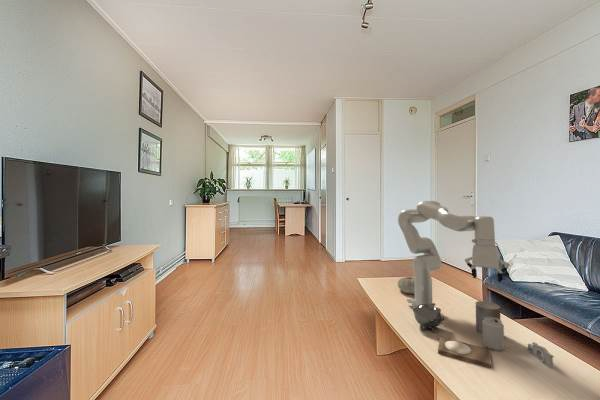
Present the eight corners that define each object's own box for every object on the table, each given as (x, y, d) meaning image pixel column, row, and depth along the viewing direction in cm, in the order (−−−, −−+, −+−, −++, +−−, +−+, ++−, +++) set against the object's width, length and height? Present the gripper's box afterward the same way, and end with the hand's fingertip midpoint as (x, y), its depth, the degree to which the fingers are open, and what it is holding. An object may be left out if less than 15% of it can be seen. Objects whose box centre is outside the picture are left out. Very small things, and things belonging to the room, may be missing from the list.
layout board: (437, 353, 107) (437, 349, 107) (440, 339, 117) (440, 336, 117) (491, 367, 97) (491, 363, 97) (488, 352, 107) (488, 348, 107)
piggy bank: (448, 334, 122) (448, 310, 122) (415, 331, 125) (415, 308, 125) (440, 323, 133) (439, 301, 133) (409, 321, 136) (409, 299, 136)
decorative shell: (395, 287, 189) (394, 273, 189) (420, 288, 186) (420, 274, 186) (401, 296, 171) (401, 281, 171) (429, 297, 169) (429, 282, 169)
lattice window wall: (526, 350, 108) (526, 336, 108) (531, 351, 108) (531, 337, 108) (549, 369, 97) (549, 353, 97) (554, 369, 96) (554, 353, 96)
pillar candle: (496, 329, 126) (495, 299, 126) (504, 339, 116) (503, 307, 117) (473, 326, 129) (472, 297, 129) (479, 336, 120) (478, 304, 120)
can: (508, 352, 107) (507, 324, 107) (488, 350, 108) (487, 322, 108) (498, 342, 114) (497, 316, 114) (479, 341, 116) (479, 314, 116)
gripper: (461, 242, 123) (463, 277, 123) (506, 245, 110) (508, 285, 110) (466, 240, 128) (468, 274, 128) (510, 243, 115) (512, 281, 114)
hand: (487, 279), depth 119 cm, fingers open, 9 cm apart
